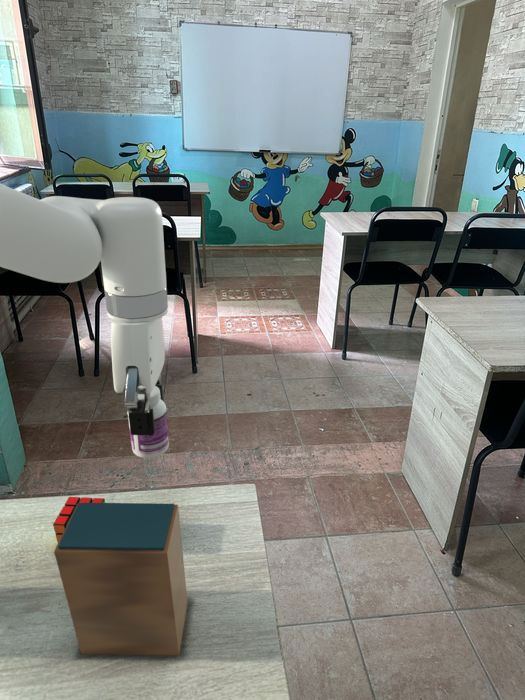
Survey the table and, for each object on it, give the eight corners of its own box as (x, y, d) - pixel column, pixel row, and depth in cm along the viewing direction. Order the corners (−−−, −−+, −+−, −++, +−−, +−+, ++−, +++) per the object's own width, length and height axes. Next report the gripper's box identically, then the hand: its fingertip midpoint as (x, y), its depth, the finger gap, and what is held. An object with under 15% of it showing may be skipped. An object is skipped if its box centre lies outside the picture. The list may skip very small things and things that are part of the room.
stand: (81, 655, 59) (53, 551, 51) (99, 603, 65) (77, 503, 57) (179, 656, 59) (167, 552, 51) (187, 604, 65) (178, 504, 57)
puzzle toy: (96, 554, 72) (90, 526, 70) (59, 552, 72) (52, 524, 70) (109, 525, 77) (104, 498, 75) (75, 523, 77) (69, 496, 75)
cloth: (58, 549, 51) (57, 546, 51) (79, 504, 57) (79, 502, 56) (163, 550, 51) (163, 547, 51) (174, 506, 57) (174, 503, 56)
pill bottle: (176, 443, 71) (173, 387, 67) (154, 463, 67) (149, 405, 63) (146, 433, 73) (141, 378, 69) (124, 452, 69) (116, 395, 65)
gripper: (125, 279, 68) (136, 389, 76) (83, 326, 53) (103, 459, 60) (178, 281, 68) (183, 391, 76) (152, 328, 53) (162, 460, 60)
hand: (148, 420), depth 68 cm, fingers closed on pill bottle, 5 cm apart
